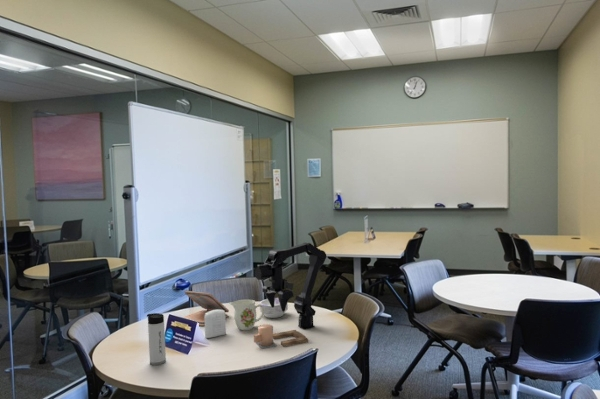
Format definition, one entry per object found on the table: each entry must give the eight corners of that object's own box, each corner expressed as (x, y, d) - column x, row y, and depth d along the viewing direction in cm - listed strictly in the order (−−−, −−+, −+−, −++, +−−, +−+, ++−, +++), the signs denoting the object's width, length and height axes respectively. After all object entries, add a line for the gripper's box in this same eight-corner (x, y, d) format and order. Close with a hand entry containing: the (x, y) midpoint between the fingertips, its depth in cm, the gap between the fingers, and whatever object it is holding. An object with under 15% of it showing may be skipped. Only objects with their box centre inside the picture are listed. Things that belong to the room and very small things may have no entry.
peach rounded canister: (266, 339, 198) (265, 323, 198) (276, 342, 194) (275, 326, 193) (250, 345, 191) (249, 329, 190) (260, 349, 186) (260, 332, 186)
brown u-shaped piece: (295, 332, 207) (295, 329, 207) (308, 341, 194) (308, 338, 194) (271, 337, 202) (271, 334, 202) (283, 346, 189) (283, 343, 189)
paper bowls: (254, 317, 233) (253, 303, 233) (270, 310, 246) (270, 296, 246) (277, 321, 225) (277, 306, 225) (293, 313, 238) (292, 299, 238)
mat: (269, 339, 199) (269, 338, 199) (276, 345, 191) (276, 345, 191) (255, 342, 196) (255, 341, 196) (261, 348, 188) (261, 348, 188)
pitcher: (268, 327, 215) (267, 300, 215) (233, 334, 208) (232, 305, 207) (261, 321, 225) (259, 295, 225) (227, 327, 218) (226, 300, 217)
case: (231, 316, 237) (229, 287, 237) (203, 327, 220) (202, 296, 219) (204, 312, 248) (203, 284, 248) (175, 322, 231) (174, 292, 230)
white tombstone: (223, 332, 211) (222, 307, 211) (227, 334, 208) (226, 309, 207) (203, 336, 206) (202, 311, 205) (207, 339, 202) (206, 313, 202)
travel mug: (151, 359, 180) (149, 312, 179) (167, 358, 180) (165, 311, 180) (147, 365, 174) (144, 316, 173) (164, 364, 174) (161, 315, 174)
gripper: (302, 277, 202) (303, 310, 202) (280, 271, 217) (281, 302, 217) (282, 280, 195) (283, 315, 196) (261, 274, 210) (262, 306, 211)
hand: (278, 309), depth 205 cm, fingers open, 9 cm apart
